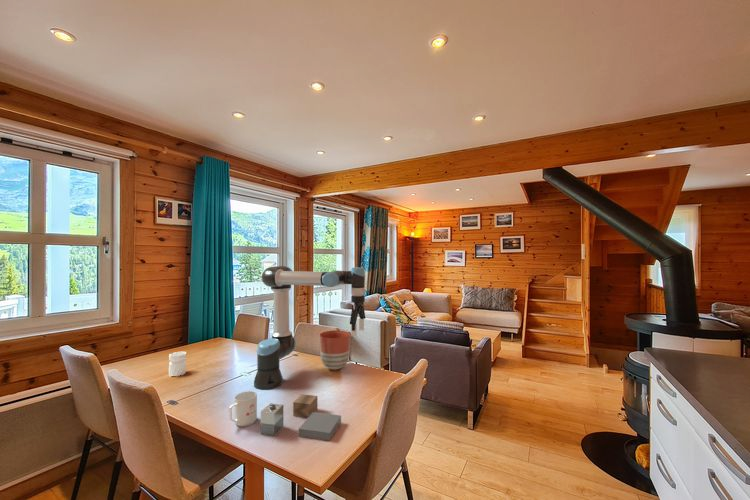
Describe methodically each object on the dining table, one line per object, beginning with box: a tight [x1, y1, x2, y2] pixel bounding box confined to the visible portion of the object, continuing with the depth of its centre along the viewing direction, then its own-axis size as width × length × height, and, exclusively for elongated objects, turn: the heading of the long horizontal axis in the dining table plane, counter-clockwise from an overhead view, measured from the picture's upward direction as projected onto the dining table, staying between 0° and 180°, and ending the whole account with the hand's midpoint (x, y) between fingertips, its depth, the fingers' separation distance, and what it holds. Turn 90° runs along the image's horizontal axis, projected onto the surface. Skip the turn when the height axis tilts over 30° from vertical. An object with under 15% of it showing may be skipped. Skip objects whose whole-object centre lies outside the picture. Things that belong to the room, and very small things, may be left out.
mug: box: [228, 390, 258, 428], centre depth 129 cm, size 12×9×11 cm
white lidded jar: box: [168, 351, 187, 377], centre depth 183 cm, size 9×9×12 cm
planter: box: [319, 329, 352, 371], centre depth 192 cm, size 20×20×21 cm
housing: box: [260, 402, 284, 437], centre depth 124 cm, size 6×7×10 cm
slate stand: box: [298, 411, 342, 441], centre depth 125 cm, size 13×13×3 cm
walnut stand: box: [292, 393, 318, 419], centre depth 138 cm, size 8×8×6 cm
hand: (357, 333), depth 170 cm, fingers open, 13 cm apart
